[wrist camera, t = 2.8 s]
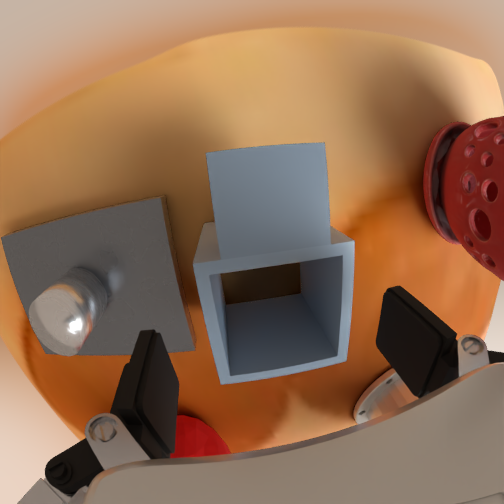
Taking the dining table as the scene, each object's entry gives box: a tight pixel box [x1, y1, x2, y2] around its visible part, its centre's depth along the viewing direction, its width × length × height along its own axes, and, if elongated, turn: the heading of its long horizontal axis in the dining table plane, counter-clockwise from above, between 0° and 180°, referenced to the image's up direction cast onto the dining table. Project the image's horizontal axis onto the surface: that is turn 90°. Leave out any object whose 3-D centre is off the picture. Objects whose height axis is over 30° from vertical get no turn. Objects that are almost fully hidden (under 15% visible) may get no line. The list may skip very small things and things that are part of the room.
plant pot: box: [423, 116, 504, 281], centre depth 14 cm, size 13×13×12 cm
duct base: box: [1, 195, 196, 356], centre depth 16 cm, size 16×12×6 cm
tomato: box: [170, 415, 231, 458], centre depth 21 cm, size 11×13×10 cm
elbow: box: [193, 143, 355, 385], centre depth 16 cm, size 7×12×8 cm, turn 6°
